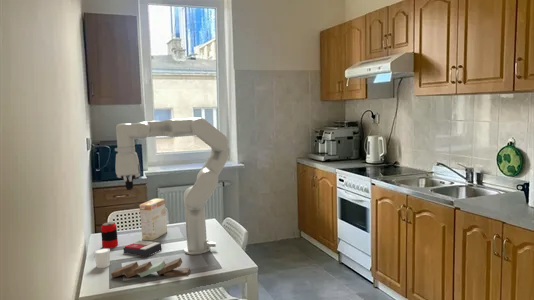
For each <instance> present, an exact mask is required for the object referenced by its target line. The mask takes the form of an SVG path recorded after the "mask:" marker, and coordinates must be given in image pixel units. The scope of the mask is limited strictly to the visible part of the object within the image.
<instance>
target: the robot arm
mask: <svg viewBox="0 0 534 300" xmlns="http://www.w3.org/2000/svg"><path fill="white" fill-rule="evenodd" d="M115 132H116V144H117V147H115V148H114V152H117V153H116V154H115V174H116V175H115V176H116V178H118V179H122V180H123V182H125V188H126V191H132V190H133V189H134V182H133V181H134V180H135V179H136V178H139V177H140V176H141V166H140V162H139V161H140V160H139V157H138V153H137V152H136V146H135V145H136V143H135V139H136V140H137V139H139V140H144V139H147V138H153V137H155V138H157V137H168V138H179V137H180V138H181V137H195V136H196V137H197V139H198V138H199V139H200V140H201V141H202V142H203V143H205V144H206V145H207V146H209V147H210V155H209V157H208V158H207V160H206V162H205V163H204V164H203V166H202V168H201V169H200V170H199V172H198V173H197V175H196V181H195V182H194V184H193V185H192V186H189V187H187V189H185V191H184V193H183V204H184V206H183V207H184V217H185V218H184V219H185V232H186V244H187V246H186V247H184V249H183V250H184V253H185V254H187V255H192V256H193V255H195V256H196V255H202V254H205V253H208V252H209V251H210V250H211V248H216V246H217V245H216V244H217V243H216V242H215V241H209V239H208V238H207V224H206V208H205V206H206V204H207V202H208V201H209V199H210V197H212V195H213V193H214V191H215V190H216V189H217V187H218V185H219V175H220V173H221V172H222V171H223V169H224V167H225V165H226V163H227V161H228V158H229V152H230V151H229V140H228V139H229V138H228V137H227V136H226V135H225V134H224V133H223V132H221V131H220V130H219V129H218V128H216V127H215V126H213V125H212V124H211V123H210V122H209V120H207V119H206V118H204V117H187V118H170V119H164V120H152V121H141V122H140V121H139V122H136V123H131V122H130V123H128V122H127V123H118V124H117V125H116V126H115Z"/></svg>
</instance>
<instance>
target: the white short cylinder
mask: <svg viewBox="0 0 534 300" xmlns="http://www.w3.org/2000/svg"><path fill="white" fill-rule="evenodd" d="M93 255H94V258H95V264H96V268H98V269H102V268H103V269H104V268H107V267H109V266H110V265H111V248H99V249H96V250H94V251H93Z"/></svg>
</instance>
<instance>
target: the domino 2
mask: <svg viewBox="0 0 534 300" xmlns="http://www.w3.org/2000/svg"><path fill="white" fill-rule="evenodd" d="M152 265H153V263H152V261H148V262H145V263H142V264H140V265H138V267H137V268H136V269H135V270H133V271H131V272H128V273H125V274H124V275H125V277H126V278H127V279H128V278H131V277H134V276H137V275H138V274H139V273H142V272H144V271H147V270H148V269H149V268H150V267H151V266H152Z"/></svg>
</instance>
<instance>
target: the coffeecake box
mask: <svg viewBox="0 0 534 300" xmlns="http://www.w3.org/2000/svg"><path fill="white" fill-rule="evenodd" d="M139 215H140V217H139V218H140V225H141V227H140V228H141V241H154V240H156V239H158V238H159V237H161V236H163V235H165V234H166V232H167V233H168V223H167V212H166V199H165V198H152V199H150V200H148V201H145V202H143V203H141V204H139Z"/></svg>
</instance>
